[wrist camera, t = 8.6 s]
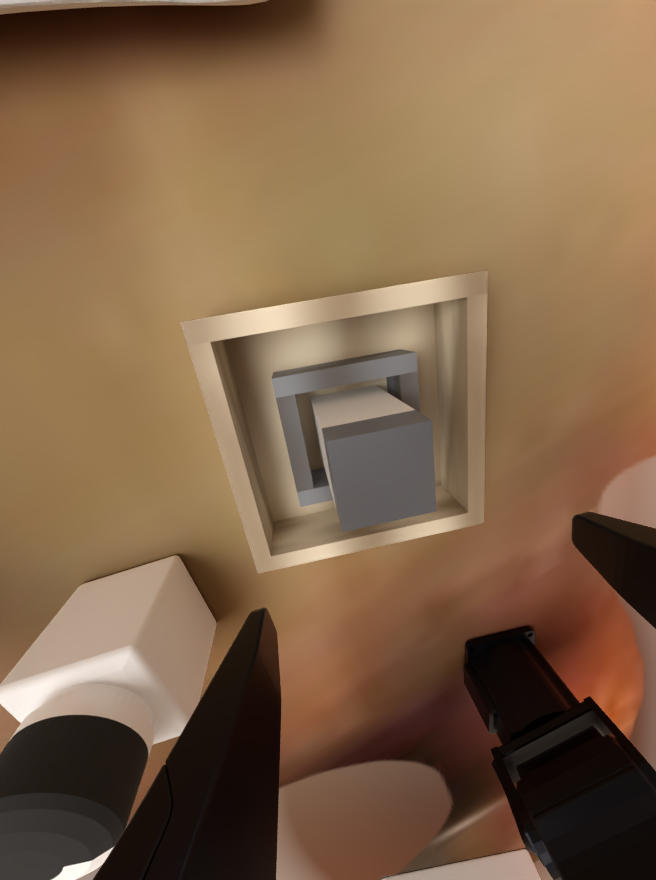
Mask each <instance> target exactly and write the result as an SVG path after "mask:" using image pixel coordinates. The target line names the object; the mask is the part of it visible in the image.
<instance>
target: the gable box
mask: <svg viewBox="0 0 656 880" xmlns="http://www.w3.org/2000/svg"><path fill="white" fill-rule="evenodd" d="M381 880H541V878H540V875H539V873H538V871H537V869H536V867H535V865H534V862H533V860H532V858H531V856H530V854H529V852H528V850H527V849H525V848H524V849H519V850H514V851H510V852H505V853H500V854H495V855H490V856H485V857H480V858H475V859H471V860H466V861H461V862H456V863H451V864H446V865H441V866H437V867H432V868H427V869H422V870H417V871H412V872H407V873H402V874H398V875H396V874H395V875H390V876H385V877H382V878H381Z"/></svg>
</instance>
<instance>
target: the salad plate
mask: <svg viewBox="0 0 656 880" xmlns="http://www.w3.org/2000/svg"><path fill="white" fill-rule="evenodd" d="M266 1H268V0H0V14H10V13H20V12H32V11H46V10H60V9H74V8H91V7H111V6H147V5H214V6H228V5H249V4H255V3H260V2H266Z"/></svg>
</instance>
